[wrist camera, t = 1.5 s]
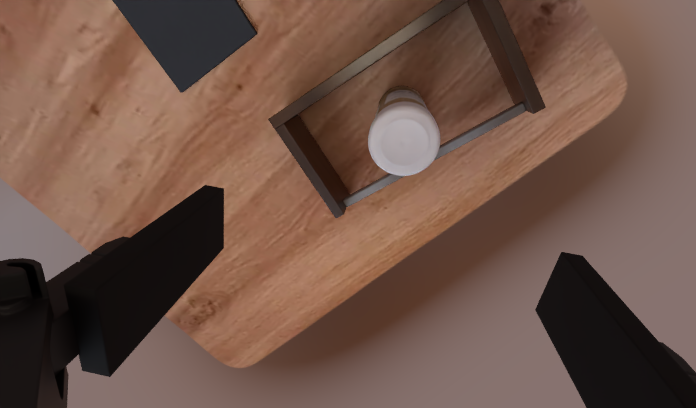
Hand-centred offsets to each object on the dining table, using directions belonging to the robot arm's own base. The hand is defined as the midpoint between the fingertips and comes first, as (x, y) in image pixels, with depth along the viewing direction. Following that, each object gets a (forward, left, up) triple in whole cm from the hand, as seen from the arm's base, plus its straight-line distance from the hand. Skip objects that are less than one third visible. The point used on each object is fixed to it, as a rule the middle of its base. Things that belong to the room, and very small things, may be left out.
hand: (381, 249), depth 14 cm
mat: (+11, -19, -23) cm, 32 cm away
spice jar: (-2, -1, -24) cm, 24 cm away
